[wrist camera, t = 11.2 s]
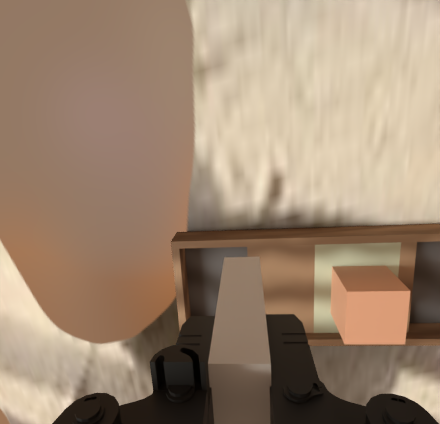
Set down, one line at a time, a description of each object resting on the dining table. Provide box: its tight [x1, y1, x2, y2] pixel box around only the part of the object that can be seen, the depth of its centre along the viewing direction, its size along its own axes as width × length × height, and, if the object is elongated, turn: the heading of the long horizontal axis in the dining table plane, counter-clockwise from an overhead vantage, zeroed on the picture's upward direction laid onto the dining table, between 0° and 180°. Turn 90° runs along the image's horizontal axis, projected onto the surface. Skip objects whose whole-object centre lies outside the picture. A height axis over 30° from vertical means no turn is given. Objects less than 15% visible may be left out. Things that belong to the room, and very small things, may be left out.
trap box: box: [171, 224, 440, 346], centre depth 47 cm, size 16×42×4 cm, turn 93°
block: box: [330, 266, 411, 344], centre depth 43 cm, size 7×7×7 cm
